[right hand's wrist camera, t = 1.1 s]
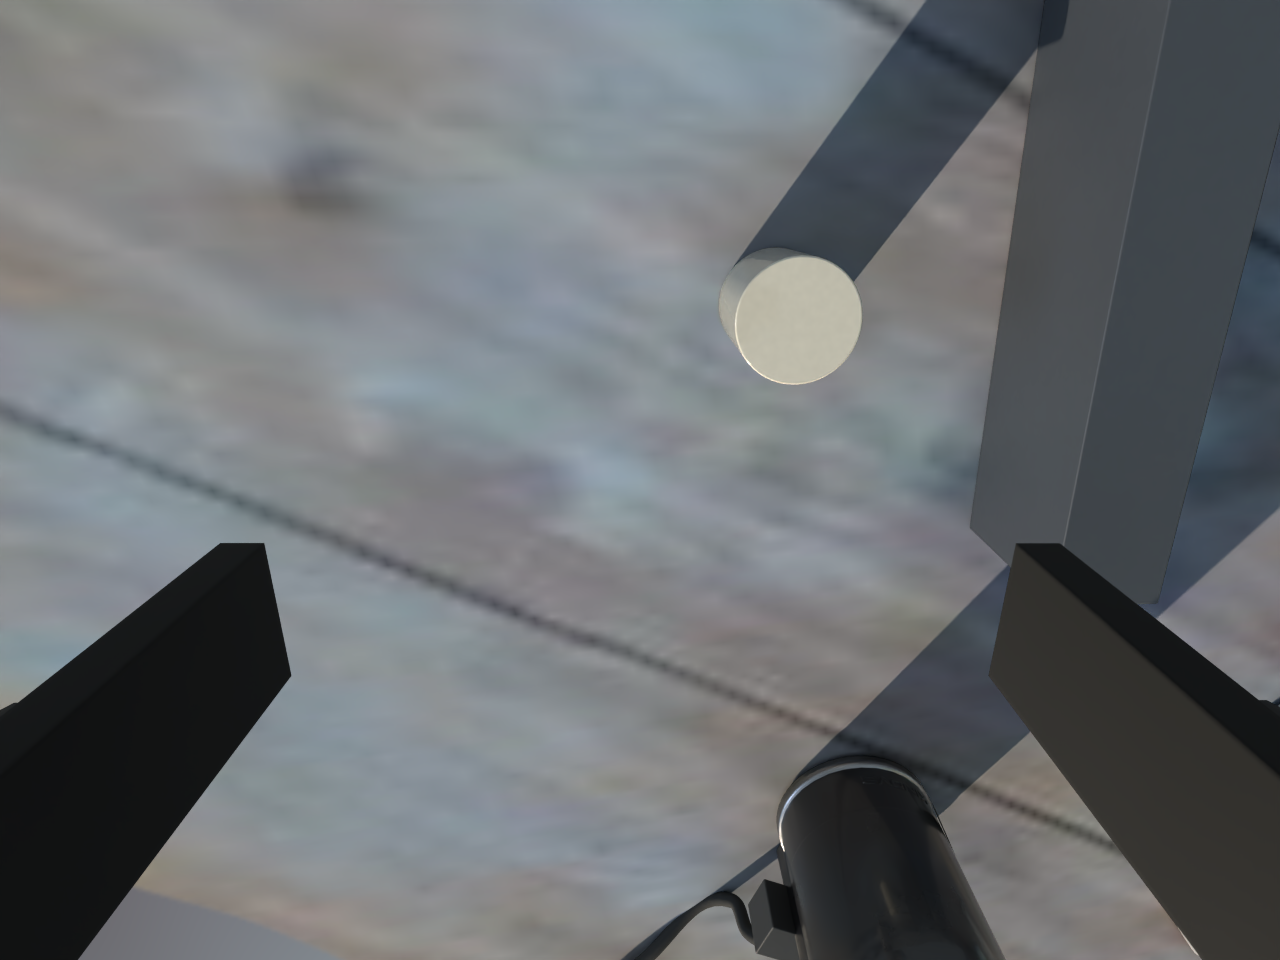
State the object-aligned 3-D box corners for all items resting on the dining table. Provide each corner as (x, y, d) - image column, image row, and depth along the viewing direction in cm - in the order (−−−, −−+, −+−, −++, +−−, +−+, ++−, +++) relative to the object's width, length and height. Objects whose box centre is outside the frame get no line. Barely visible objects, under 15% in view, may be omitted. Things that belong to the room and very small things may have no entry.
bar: (1062, -129, 28) (1219, -254, 20) (1179, -134, 28) (1380, -261, 20) (969, 528, 38) (1051, 607, 30) (1054, 525, 38) (1158, 604, 30)
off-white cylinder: (719, 249, 33) (735, 257, 27) (828, 245, 33) (868, 252, 27) (718, 357, 34) (734, 387, 29) (822, 354, 34) (858, 382, 29)
